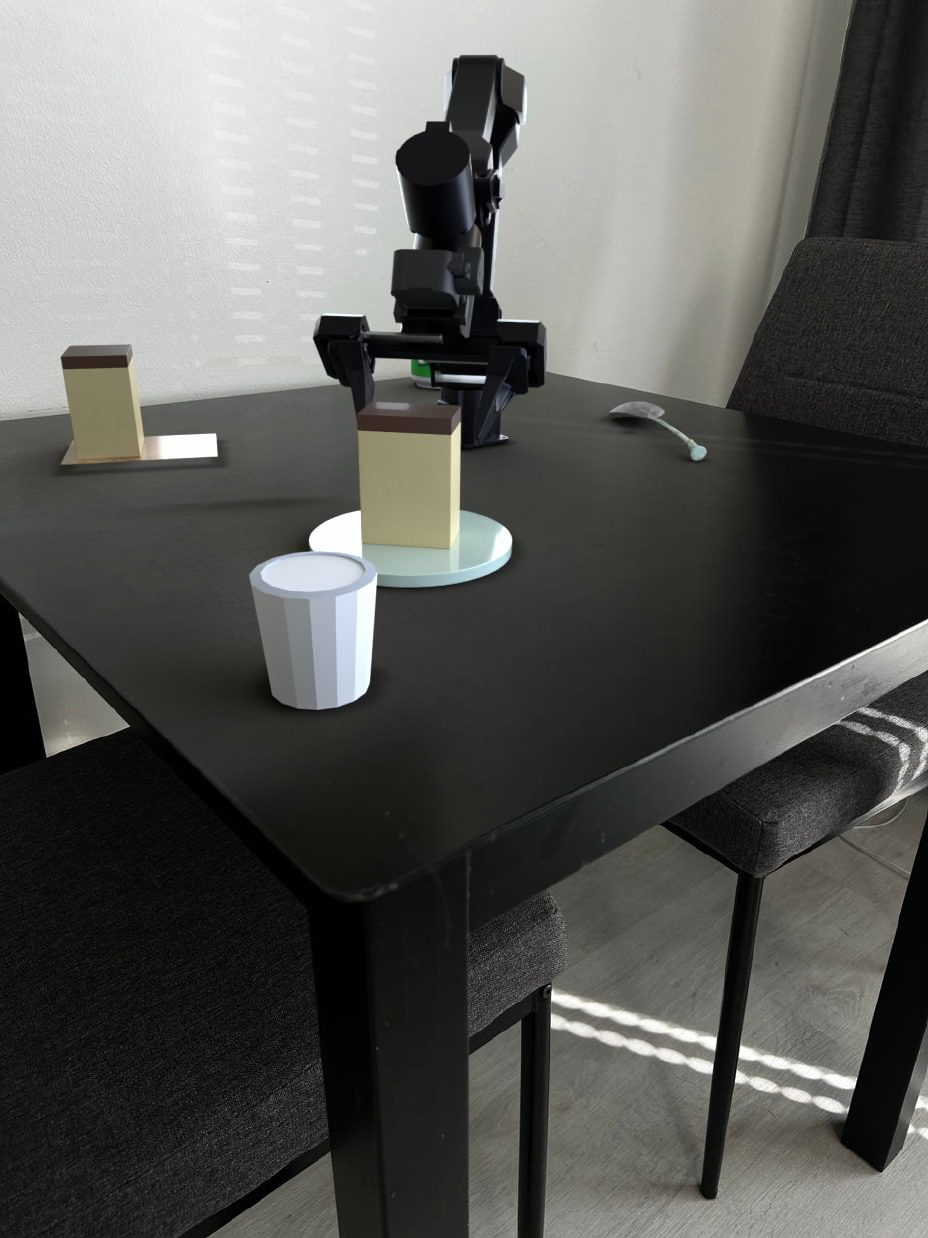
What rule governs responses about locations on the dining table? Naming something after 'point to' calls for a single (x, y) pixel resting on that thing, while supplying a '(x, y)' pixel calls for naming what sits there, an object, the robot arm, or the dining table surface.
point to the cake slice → (409, 474)
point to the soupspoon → (651, 414)
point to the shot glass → (316, 626)
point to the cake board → (159, 449)
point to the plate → (421, 552)
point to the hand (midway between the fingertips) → (419, 439)
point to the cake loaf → (103, 401)
